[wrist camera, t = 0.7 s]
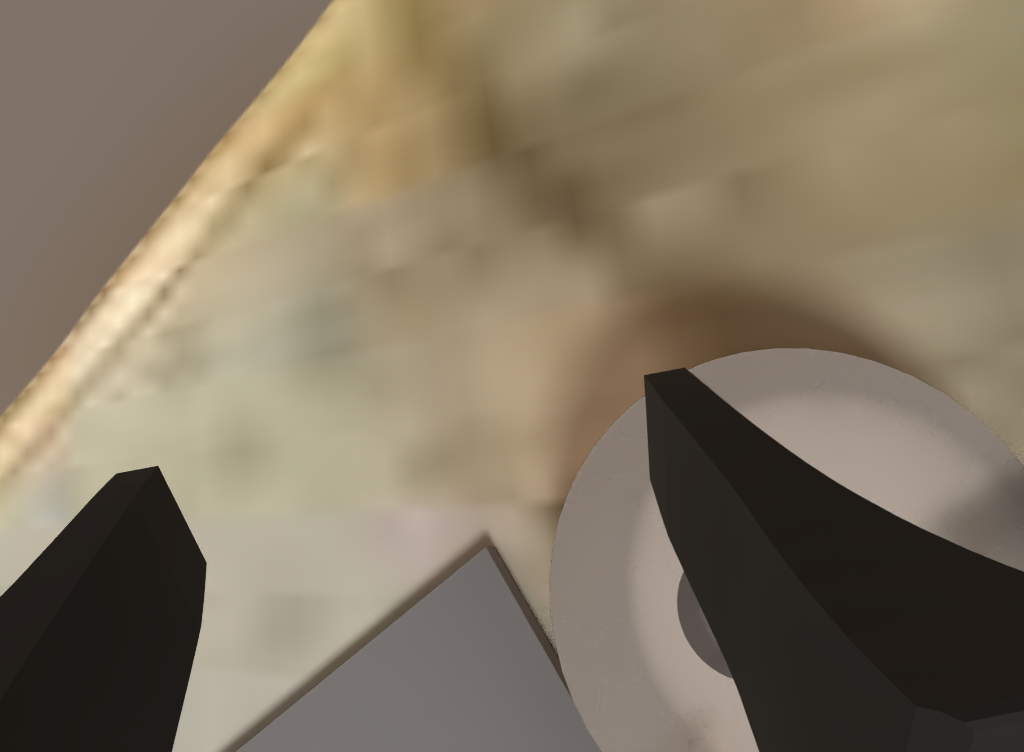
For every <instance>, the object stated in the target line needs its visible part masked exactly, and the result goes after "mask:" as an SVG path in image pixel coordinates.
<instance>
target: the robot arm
mask: <svg viewBox="0 0 1024 752" xmlns="http://www.w3.org/2000/svg"><path fill="white" fill-rule="evenodd" d="M644 383H645V401H646V419H647V437H648V456H649V474H650V481H651V484H652V488H653V491H654V494H655V497H656V501H657V504H658V507H659V510H660V513H661V516H662V519H663V522H664V525H665V528H666V532H667V535H668V537H669V540H670V542H671V544H672V546H673V548H674V551H675V553H676V555H677V557H678V559H679V562H680V564H681V566H682V568H683V570H684V572H685V575H686V577H687V579H688V581H689V583H690V585H691V588H692V590H693V592H694V594H695V596H696V598H697V600H698V603H699V605H700V607H701V609H702V611H703V613H704V616H705V618H706V620H707V622H708V624H709V626H710V628H711V631H712V633H713V635H714V637H715V639H716V641H717V643H718V646H719V648H720V650H721V652H722V654H723V656H724V658H725V661H726V663H727V665H728V668H729V670H730V673H731V675H732V677H733V680H734V682H735V685H736V687H737V690H738V692H739V695H740V698H741V701H742V704H743V707H744V710H745V712H746V715H747V718H748V721H749V724H750V727H751V730H752V733H753V735H754V738H755V741H756V744H757V747H758V750H759V752H1024V571H1021V570H1018V569H1016V568H1013V567H1010V566H1007V565H1005V564H1002V563H1000V562H998V561H995V560H993V559H990V558H988V557H985V556H983V555H980V554H978V553H976V552H973V551H971V550H968V549H966V548H964V547H962V546H960V545H957V544H955V543H953V542H951V541H949V540H946V539H944V538H942V537H940V536H938V535H935V534H933V533H931V532H929V531H927V530H925V529H922V528H920V527H918V526H916V525H914V524H912V523H910V522H908V521H906V520H904V519H902V518H900V517H898V516H896V515H894V514H893V513H891V512H889V511H887V510H885V509H883V508H882V507H880V506H878V505H876V504H874V503H873V502H871V501H869V500H867V499H865V498H863V497H862V496H860V495H858V494H856V493H854V492H853V491H851V490H849V489H848V488H846V487H844V486H843V485H841V484H839V483H838V482H836V481H834V480H833V479H831V478H830V477H828V476H827V475H825V474H823V473H822V472H820V471H819V470H817V469H816V468H814V467H813V466H811V465H810V464H808V463H807V462H805V461H804V460H802V459H801V458H799V457H798V456H797V455H795V454H794V453H792V452H791V451H789V450H788V449H787V448H785V447H784V446H783V445H781V444H780V443H779V442H777V441H776V440H775V439H773V438H772V437H771V436H769V435H768V434H767V433H765V432H764V431H763V430H761V429H760V428H759V427H757V426H756V425H755V424H753V423H752V422H751V421H749V420H748V419H747V418H746V417H744V416H743V415H742V414H741V413H739V412H738V411H737V410H736V409H734V408H733V407H732V406H731V405H730V404H728V403H727V402H726V401H725V400H723V399H722V398H721V397H720V396H719V395H717V394H716V393H715V392H714V391H713V390H711V389H710V388H709V387H708V386H707V385H705V384H704V383H703V382H702V381H701V380H700V379H698V378H697V377H696V376H695V375H694V374H692V373H691V372H690V371H688V370H687V369H686V368H681V369H675V370H670V371H665V372H659V373H654V374H649V375H644ZM206 565H207V563H206V561H205V559H204V557H203V555H202V553H201V551H200V549H199V547H198V545H197V543H196V541H195V539H194V537H193V535H192V533H191V531H190V529H189V527H188V525H187V523H186V521H185V519H184V517H183V515H182V513H181V511H180V509H179V507H178V505H177V503H176V501H175V499H174V497H173V495H172V493H171V491H170V489H169V487H168V485H167V483H166V481H165V479H164V477H163V475H162V473H161V471H160V469H159V467H158V466H155V467H149V468H144V469H139V470H133V471H128V472H122V473H117V474H116V475H115V476H114V477H113V478H111V479H110V480H109V481H108V482H107V483H106V484H105V485H104V486H103V487H102V488H101V489H100V490H99V492H98V493H97V494H96V495H95V496H94V497H93V498H92V499H91V500H90V501H89V502H88V503H87V504H86V505H85V507H84V508H83V509H82V510H81V511H80V512H79V513H78V514H77V515H76V516H75V518H74V519H73V520H72V521H71V522H70V523H69V524H68V525H67V526H66V527H65V528H64V530H63V531H62V532H61V533H60V534H59V535H58V536H57V537H56V538H55V539H54V541H53V542H52V543H51V544H50V545H49V546H48V547H47V548H46V549H45V550H44V551H43V552H42V553H41V555H40V556H39V557H38V558H37V559H36V560H35V561H34V562H33V563H32V564H31V565H30V566H29V568H28V569H27V570H26V571H25V572H24V573H23V574H22V575H21V576H20V577H19V578H18V579H17V580H16V581H15V582H14V584H13V585H12V586H11V587H10V588H9V589H8V590H7V591H6V592H5V593H4V594H3V595H2V596H1V597H0V752H172V748H173V744H174V740H175V736H176V732H177V727H178V723H179V719H180V715H181V711H182V707H183V702H184V698H185V694H186V690H187V686H188V682H189V678H190V673H191V669H192V664H193V660H194V656H195V651H196V647H197V643H198V638H199V633H200V629H201V622H202V613H203V603H204V592H205V579H206Z"/></svg>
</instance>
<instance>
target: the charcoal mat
mask: <svg viewBox="0 0 1024 752" xmlns="http://www.w3.org/2000/svg"><path fill="white" fill-rule="evenodd" d="M236 752H602V751H601V750H600V748H599V747H598V745H597V744H596V742H595V740H594V739H593V737H592V736H591V734H590V733H589V731H588V729H587V727H586V725H585V723H584V721H583V719H582V717H581V715H580V713H579V711H578V709H577V707H576V705H575V703H574V701H573V699H572V696H571V693H570V691H569V688H568V685H567V683H566V680H565V677H564V674H563V672H562V668H561V664H560V660H559V658H558V657H557V655H556V653H555V651H554V650H553V648H552V646H551V644H550V643H549V641H548V639H547V637H546V636H545V634H544V632H543V630H542V629H541V627H540V625H539V624H538V622H537V620H536V618H535V617H534V615H533V613H532V611H531V610H530V608H529V606H528V604H527V603H526V601H525V599H524V597H523V596H522V594H521V592H520V590H519V589H518V587H517V585H516V583H515V582H514V580H513V578H512V576H511V575H510V573H509V571H508V569H507V568H506V566H505V564H504V562H503V561H502V559H501V557H500V555H499V554H498V552H497V550H496V549H495V547H485V548H484V549H483V550H481V551H480V552H479V553H478V554H477V555H475V556H474V557H473V558H472V559H470V560H469V561H468V562H467V563H466V564H464V565H463V566H462V567H461V568H459V569H458V570H457V571H456V572H455V573H453V574H452V575H451V576H450V577H448V578H447V579H446V580H445V581H444V582H442V583H441V584H440V585H439V586H437V587H436V588H435V589H434V590H433V591H431V592H430V593H429V594H428V595H426V596H425V597H424V598H423V599H422V600H420V601H419V602H418V603H417V604H415V605H414V606H413V607H412V608H411V609H409V610H408V611H407V612H406V613H404V614H403V615H402V616H401V617H400V618H398V619H397V620H396V621H395V622H393V623H392V624H391V625H390V626H389V627H387V628H386V629H385V630H384V631H382V632H381V633H380V634H379V635H378V636H376V637H375V638H374V639H373V640H371V641H370V642H369V643H368V644H367V645H365V646H364V647H363V648H362V649H360V650H359V651H358V652H357V653H356V654H354V655H353V656H352V657H351V658H349V659H348V660H347V661H346V662H345V663H343V664H342V665H341V666H340V667H338V668H337V669H336V670H335V671H334V672H332V673H331V674H330V675H329V676H328V677H326V678H325V679H324V680H323V681H321V682H320V683H319V684H318V685H317V686H315V687H314V688H313V689H312V690H310V691H309V692H308V693H307V694H306V695H304V696H303V697H302V698H301V699H299V700H298V701H297V702H296V703H295V704H293V705H292V706H291V707H290V708H288V709H287V710H286V711H285V712H284V713H282V714H281V715H280V716H279V717H277V718H276V719H275V720H274V721H273V722H271V723H270V724H269V725H268V726H266V727H265V728H264V729H263V730H262V731H260V732H259V733H258V734H257V735H255V736H254V737H253V738H252V739H251V740H249V741H248V742H247V743H246V744H244V745H243V746H242V747H241V748H240V749H238V750H237V751H236Z"/></svg>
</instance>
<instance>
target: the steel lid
mask: <svg viewBox="0 0 1024 752" xmlns="http://www.w3.org/2000/svg"><path fill="white" fill-rule="evenodd" d="M688 371H690V372H691V373H692V374H694V375H695V376H696V377H697V378H698V379H700V380H701V381H702V382H703V383H704V384H705V385H707V386H708V387H709V388H710V389H711V390H713V391H714V392H715V393H716V394H717V395H719V396H720V397H721V398H722V399H723V400H725V401H726V402H727V403H728V404H730V405H731V406H732V407H733V408H734V409H736V410H737V411H738V412H739V413H741V414H742V415H743V416H744V417H746V418H747V419H748V420H749V421H751V422H752V423H753V424H755V425H756V426H757V427H759V428H760V429H761V430H763V431H764V432H765V433H767V434H768V435H769V436H771V437H772V438H773V439H775V440H776V441H777V442H779V443H780V444H781V445H783V446H784V447H785V448H787V449H788V450H789V451H791V452H792V453H794V454H795V455H797V456H798V457H799V458H801V459H802V460H804V461H805V462H807V463H808V464H810V465H811V466H813V467H814V468H816V469H817V470H819V471H820V472H822V473H823V474H825V475H827V476H828V477H830V478H831V479H833V480H834V481H836V482H838V483H839V484H841V485H843V486H844V487H846V488H848V489H849V490H851V491H853V492H854V493H856V494H858V495H860V496H862V497H863V498H865V499H867V500H869V501H871V502H873V503H874V504H876V505H878V506H880V507H882V508H883V509H885V510H887V511H889V512H891V513H893V514H894V515H896V516H898V517H900V518H902V519H904V520H906V521H908V522H910V523H912V524H914V525H916V526H918V527H920V528H922V529H925V530H927V531H929V532H931V533H933V534H935V535H938V536H940V537H942V538H944V539H946V540H949V541H951V542H953V543H955V544H957V545H960V546H962V547H964V548H966V549H968V550H971V551H973V552H976V553H978V554H980V555H983V556H985V557H988V558H990V559H993V560H995V561H998V562H1000V563H1002V564H1005V565H1007V566H1010V567H1013V568H1016V569H1018V570H1021V571H1024V466H1023V465H1022V463H1021V462H1020V461H1019V460H1018V459H1017V457H1016V456H1015V455H1014V454H1013V453H1012V451H1011V450H1010V449H1009V448H1008V447H1007V445H1006V444H1005V443H1004V442H1003V441H1002V440H1001V439H1000V438H999V437H998V436H997V435H995V434H994V433H993V432H992V431H991V430H990V429H989V428H988V427H987V426H986V425H985V424H984V423H983V422H981V421H980V420H979V419H978V418H977V417H976V416H975V415H974V414H972V413H971V412H969V411H968V410H967V409H965V408H964V407H962V406H961V405H960V404H958V403H957V402H956V401H954V400H953V399H951V398H950V397H949V396H947V395H946V394H944V393H943V392H941V391H939V390H937V389H935V388H934V387H932V386H930V385H928V384H926V383H924V382H923V381H921V380H919V379H917V378H915V377H913V376H912V375H910V374H907V373H904V372H902V371H899V370H897V369H894V368H892V367H889V366H887V365H884V364H881V363H879V362H876V361H873V360H869V359H865V358H861V357H857V356H853V355H849V354H845V353H841V352H833V351H825V350H817V349H809V348H773V349H765V350H757V351H749V352H742V353H738V354H734V355H730V356H726V357H722V358H718V359H714V360H711V361H709V362H706V363H703V364H701V365H698V366H696V367H693V368H691V369H688ZM550 611H551V618H552V625H553V633H554V640H555V644H556V648H557V652H558V656H559V660H560V664H561V668H562V672H563V674H564V677H565V680H566V683H567V685H568V688H569V691H570V693H571V696H572V699H573V701H574V703H575V705H576V707H577V709H578V711H579V713H580V715H581V717H582V719H583V721H584V723H585V725H586V727H587V729H588V731H589V733H590V734H591V736H592V737H593V739H594V740H595V742H596V744H597V745H598V747H599V748H600V750H601V751H602V752H759V750H758V747H757V744H756V741H755V738H754V735H753V733H752V730H751V727H750V724H749V721H748V718H747V715H746V712H745V710H744V707H743V704H742V701H741V698H740V695H739V692H738V690H737V687H736V685H735V682H734V680H733V677H732V675H731V673H730V670H729V668H728V665H727V663H726V661H725V658H724V656H723V654H722V652H721V650H720V648H719V646H718V643H717V641H716V639H715V637H714V635H713V633H712V631H711V628H710V626H709V624H708V622H707V620H706V618H705V616H704V613H703V611H702V609H701V607H700V605H699V603H698V600H697V598H696V596H695V594H694V592H693V590H692V588H691V585H690V583H689V581H688V579H687V577H686V575H685V572H684V570H683V568H682V566H681V564H680V562H679V559H678V557H677V555H676V553H675V551H674V548H673V546H672V544H671V542H670V540H669V537H668V535H667V532H666V528H665V525H664V522H663V519H662V516H661V513H660V510H659V507H658V504H657V501H656V497H655V494H654V491H653V488H652V484H651V481H650V474H649V456H648V437H647V419H646V401H645V395H644V396H643V397H642V398H640V399H639V400H637V401H636V402H635V403H634V404H633V405H631V406H630V407H629V408H628V409H627V410H626V411H625V412H624V413H623V414H622V415H621V416H620V417H619V418H618V419H617V420H616V421H614V422H613V424H612V425H611V426H610V427H609V428H608V430H607V431H606V432H605V433H604V435H603V436H602V437H601V438H600V439H599V441H598V442H597V443H596V444H595V446H594V447H593V449H592V450H591V452H590V454H589V455H588V457H587V458H586V460H585V461H584V463H583V465H582V466H581V468H580V469H579V472H578V474H577V476H576V478H575V480H574V482H573V484H572V486H571V488H570V490H569V493H568V495H567V498H566V501H565V504H564V507H563V510H562V513H561V516H560V519H559V521H558V526H557V531H556V536H555V540H554V545H553V550H552V560H551V571H550Z"/></svg>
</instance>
